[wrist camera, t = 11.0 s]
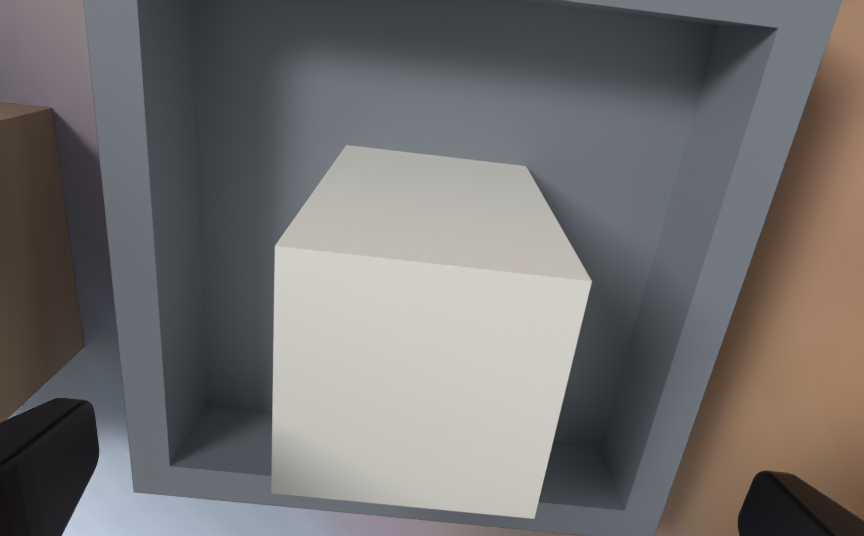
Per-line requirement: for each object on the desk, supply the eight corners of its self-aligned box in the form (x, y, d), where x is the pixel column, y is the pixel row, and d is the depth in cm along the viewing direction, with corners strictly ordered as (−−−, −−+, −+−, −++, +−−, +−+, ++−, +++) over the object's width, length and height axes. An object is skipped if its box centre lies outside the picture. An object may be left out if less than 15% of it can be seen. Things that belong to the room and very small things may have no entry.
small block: (336, 307, 17) (270, 493, 10) (346, 145, 15) (275, 245, 8) (497, 323, 17) (534, 518, 10) (526, 166, 15) (592, 281, 9)
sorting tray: (181, 417, 19) (133, 491, 16) (151, -96, 13) (70, -127, 10) (619, 461, 19) (652, 542, 16) (762, -17, 14) (850, -24, 11)
